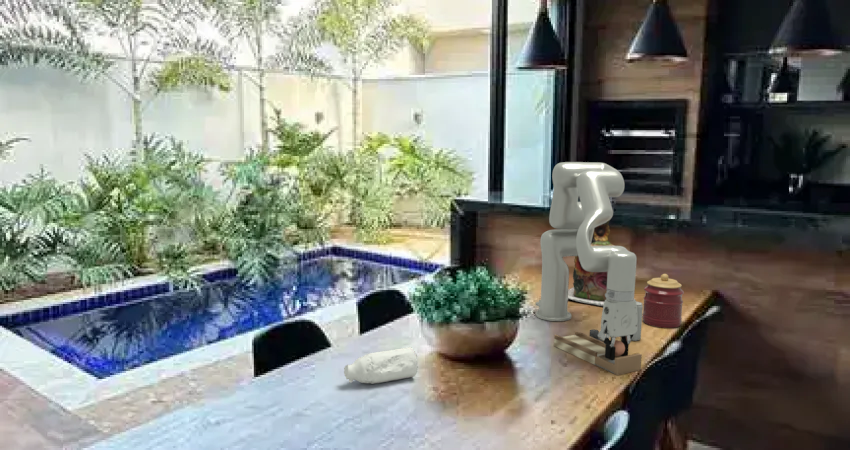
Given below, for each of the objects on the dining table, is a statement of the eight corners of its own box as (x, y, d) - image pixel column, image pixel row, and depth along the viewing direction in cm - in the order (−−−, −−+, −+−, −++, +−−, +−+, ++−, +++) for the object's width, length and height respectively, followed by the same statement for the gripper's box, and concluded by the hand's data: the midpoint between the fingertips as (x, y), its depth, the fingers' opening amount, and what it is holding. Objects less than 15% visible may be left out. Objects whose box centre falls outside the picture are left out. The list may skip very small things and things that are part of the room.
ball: (616, 359, 181) (617, 344, 180) (605, 354, 184) (606, 339, 184) (627, 356, 183) (628, 341, 182) (616, 351, 187) (617, 337, 186)
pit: (594, 364, 185) (595, 349, 185) (617, 359, 189) (618, 345, 189) (617, 375, 178) (618, 359, 177) (640, 369, 182) (641, 354, 181)
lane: (553, 345, 201) (554, 334, 200) (576, 341, 205) (576, 330, 205) (594, 364, 185) (595, 352, 185) (617, 359, 189) (618, 348, 189)
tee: (580, 338, 209) (580, 329, 208) (594, 335, 211) (594, 326, 211) (593, 343, 203) (593, 334, 203) (607, 341, 206) (608, 332, 206)
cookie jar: (578, 287, 276) (582, 213, 271) (635, 296, 262) (640, 218, 257) (553, 299, 256) (557, 219, 252) (614, 310, 242) (619, 225, 237)
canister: (640, 325, 223) (644, 275, 220) (643, 315, 235) (646, 268, 232) (681, 330, 218) (684, 279, 216) (681, 320, 230) (685, 271, 227)
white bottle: (340, 381, 171) (340, 353, 170) (406, 370, 179) (406, 343, 178) (350, 393, 164) (350, 362, 163) (418, 380, 172) (418, 352, 171)
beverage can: (641, 341, 206) (643, 305, 204) (625, 340, 207) (627, 304, 205) (639, 337, 211) (641, 301, 209) (624, 336, 211) (626, 300, 210)
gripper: (607, 301, 174) (603, 366, 176) (652, 294, 182) (647, 357, 184) (588, 295, 180) (584, 358, 183) (631, 288, 188) (628, 349, 191)
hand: (616, 356), depth 184 cm, fingers closed on ball, 4 cm apart
